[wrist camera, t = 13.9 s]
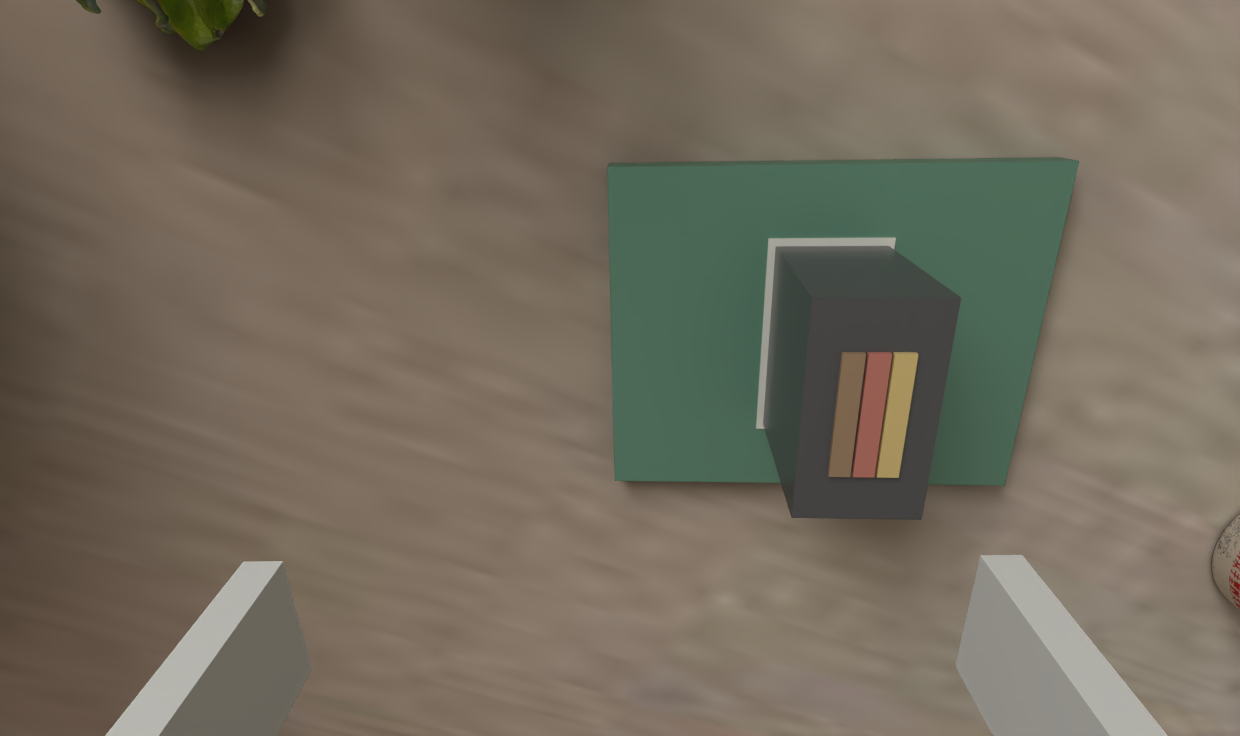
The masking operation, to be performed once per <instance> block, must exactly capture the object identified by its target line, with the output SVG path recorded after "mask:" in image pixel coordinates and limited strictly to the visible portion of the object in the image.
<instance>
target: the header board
mask: <svg viewBox="0 0 1240 736" xmlns="http://www.w3.org/2000/svg"><path fill="white" fill-rule="evenodd" d="M1078 164H1079V161H1076V160H1071V159H1066V158H1061V157H1052V158H973V159H894V160H815V161H736V162H657V163H609V165H608V167H607V174H608V216H609V258H610V300H611V342H612V384H613V426H614V468H615V481H678V482H759V483H781V481H780V478H779V475H778V472H777V468H776V465H775V462H774V459H773V455H772V452H771V449H770V445H769V442H768V439H767V436H766V432H765V429H764V426H763V418H764V404H765V389H766V375H767V361H768V347H769V333H770V319H771V304H772V290H773V276H774V262H775V248H776V246H890V247H891V248H892V249H894V250H895V251H897V252H898V253H899V254H901V255H902V256H904V257H905V258H907V259H908V260H909V261H911V262H912V263H914V264H915V265H916V266H918V267H919V268H921V269H922V270H923V271H925V272H926V273H928V274H929V275H930V276H932V277H933V278H935V279H936V280H937V281H939V282H940V283H942V284H943V285H944V286H946V287H947V288H949V289H950V290H951V291H953V292H954V293H956V294H957V295H958V296H960V297H961V302H960V308H959V314H958V319H957V325H956V330H955V336H954V341H953V347H952V352H951V358H950V363H949V369H948V374H947V380H946V386H945V391H944V397H943V402H942V408H941V413H940V419H939V424H938V430H937V435H936V441H935V447H934V452H933V458H932V463H931V469H930V474H929V480H928V485H1002V486H1005V481H1006V477H1007V473H1008V468H1009V464H1010V460H1011V455H1012V451H1013V447H1014V442H1015V438H1016V434H1017V429H1018V425H1019V420H1020V416H1021V412H1022V407H1023V403H1024V399H1025V394H1026V390H1027V386H1028V381H1029V377H1030V373H1031V368H1032V364H1033V360H1034V355H1035V351H1036V347H1037V342H1038V338H1039V333H1040V329H1041V325H1042V320H1043V316H1044V312H1045V307H1046V303H1047V299H1048V294H1049V290H1050V286H1051V281H1052V277H1053V273H1054V268H1055V264H1056V260H1057V255H1058V251H1059V246H1060V242H1061V238H1062V233H1063V229H1064V225H1065V220H1066V216H1067V212H1068V207H1069V203H1070V199H1071V194H1072V190H1073V186H1074V181H1075V177H1076V173H1077V168H1078Z"/></svg>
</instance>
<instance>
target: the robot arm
mask: <svg viewBox="0 0 1240 736" xmlns="http://www.w3.org/2000/svg"><path fill="white" fill-rule="evenodd" d="M955 667H956V668H957V670H958V672H959V674H960V676H961V678H962V679H963V681H964V683H965V685H966V687H967V689H968V691H969V692H970V694H971V696H972V698H973V700H974V702H975V703H976V705H977V707H978V709H979V711H980V713H981V714H982V716H983V718H984V720H985V722H986V724H987V726H988V727H989V729H990V731H991V733H992V735H993V736H1167V734H1166V733H1165V732H1164V731H1163V729H1162V728H1161V727H1160V726H1159V724H1158V723H1157V722H1156V721H1155V719H1154V718H1153V717H1152V716H1151V714H1150V713H1149V712H1148V711H1147V710H1146V708H1145V707H1144V706H1143V705H1142V703H1141V702H1140V701H1139V700H1138V698H1137V697H1136V696H1135V695H1134V693H1133V692H1132V691H1131V690H1130V688H1129V687H1128V686H1127V685H1126V683H1125V682H1124V681H1123V680H1122V678H1121V677H1120V676H1119V675H1118V673H1117V672H1116V671H1115V670H1114V669H1113V667H1112V666H1111V665H1110V664H1109V662H1108V661H1107V660H1106V659H1105V657H1104V656H1103V655H1102V654H1101V652H1100V651H1099V650H1098V649H1097V647H1096V646H1095V645H1094V644H1093V642H1092V641H1091V640H1090V639H1089V637H1088V636H1087V635H1086V634H1085V632H1084V631H1083V630H1082V629H1081V628H1080V626H1079V625H1078V624H1077V623H1076V621H1075V620H1074V619H1073V618H1072V616H1071V615H1070V614H1069V613H1068V611H1067V610H1066V609H1065V608H1064V606H1063V605H1062V604H1061V603H1060V601H1059V600H1058V599H1057V598H1056V596H1055V595H1054V594H1053V593H1052V592H1051V590H1050V589H1049V588H1048V587H1047V585H1046V584H1045V583H1044V582H1043V580H1042V579H1041V578H1040V577H1039V575H1038V574H1037V573H1036V572H1035V570H1034V569H1033V568H1032V567H1031V565H1030V564H1029V563H1028V562H1027V560H1026V559H1025V558H1024V557H1023V555H980V559H979V564H978V568H977V572H976V577H975V581H974V586H973V590H972V594H971V599H970V603H969V608H968V612H967V617H966V621H965V625H964V630H963V634H962V639H961V643H960V647H959V652H958V656H957V661H956V665H955ZM311 670H312V666H311V663H310V659H309V655H308V652H307V648H306V644H305V641H304V637H303V633H302V630H301V626H300V622H299V618H298V615H297V611H296V607H295V604H294V600H293V596H292V593H291V589H290V585H289V582H288V578H287V574H286V570H285V567H284V563H283V561H263V562H243V563H242V564H241V565H240V567H239V568H238V569H237V570H236V572H235V573H234V574H233V575H232V577H231V578H230V579H229V580H228V582H227V583H226V584H225V586H224V587H223V588H222V589H221V591H220V592H219V593H218V594H217V596H216V597H215V598H214V599H213V601H212V602H211V603H210V604H209V606H208V607H207V608H206V609H205V611H204V612H203V613H202V614H201V616H200V617H199V618H198V620H197V621H196V622H195V623H194V625H193V626H192V627H191V628H190V630H189V631H188V632H187V633H186V635H185V636H184V637H183V638H182V640H181V641H180V642H179V643H178V645H177V646H176V647H175V649H174V650H173V651H172V652H171V654H170V655H169V656H168V657H167V659H166V660H165V661H164V662H163V664H162V665H161V666H160V667H159V669H158V670H157V671H156V672H155V674H154V675H153V676H152V677H151V679H150V680H149V681H148V683H147V684H146V685H145V686H144V688H143V689H142V690H141V691H140V693H139V694H138V695H137V696H136V698H135V699H134V700H133V701H132V703H131V704H130V705H129V706H128V708H127V709H126V710H125V711H124V713H123V714H122V715H121V717H120V718H119V719H118V720H117V722H116V723H115V724H114V725H113V727H112V728H111V729H110V730H109V732H108V733H107V734H106V735H105V736H277V734H278V732H279V730H280V728H281V726H282V724H283V723H284V721H285V719H286V717H287V715H288V713H289V711H290V709H291V708H292V706H293V704H294V702H295V700H296V698H297V696H298V695H299V693H300V691H301V689H302V687H303V685H304V683H305V681H306V680H307V678H308V676H309V674H310V672H311Z"/></svg>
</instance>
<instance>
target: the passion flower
mask: <svg viewBox="0 0 1240 736" xmlns="http://www.w3.org/2000/svg"><path fill="white" fill-rule="evenodd" d="M76 1H77V2H78V3H80V4H81V5H82V7H83V8H84V9H85V10H87V11H89V12H92V13H96V14H100V13H101V10H100V8H99V7H98V6H97V4H96V0H76ZM136 1H137V2H138V3H139V4H140V5H144V6H146V7H147V8H149V9H150V10H151V11H152V12H153V13H154V14H155V15H156V16H157V19H156V20H155V25H156V26H157V27H158V28H159V29H161V30H162V31H163V32H165V33H167V34H173V33H177V34H178V35H179V36H180V37H181V38H183V40H184V41H186V42H187V43H189V44H190V45H191V46H192V47H193V48H195V49H197V50H199V51H203V50H205V49H206V48H207V47H208V46H209V45H210V44H211V43H213V42H214V41H216V40H220V39H221V36H222V35H223V34H224V32H225V30H226V29H227V28H228V26H229V25H231V24H232V23H233V22H234V20H235V18H236V17H237V16H238V15H239V13H240V11H241V9H242V7H243V5H244V1H245V0H136ZM248 2H249V3H250V4H251V6H252V10H253V11H254V12H255V13H256V14H257V15H258V16H259V17H262V16H264V15H265V14H266V11H267V4H266V3H265V2H264V1H263V0H248Z"/></svg>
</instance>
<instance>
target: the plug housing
mask: <svg viewBox="0 0 1240 736" xmlns="http://www.w3.org/2000/svg"><path fill="white" fill-rule="evenodd" d="M960 302H961V297H960V296H958V295H957V294H956V293H954V292H953V291H951V290H950V289H949V288H947V287H946V286H944V285H943V284H942V283H940V282H939V281H937V280H936V279H935V278H933V277H932V276H930V275H929V274H928V273H926V272H925V271H923V270H922V269H921V268H919V267H918V266H916V265H915V264H914V263H912V262H911V261H909V260H908V259H907V258H905V257H904V256H902V255H901V254H899V253H898V252H897V251H895V250H894V249H892V248H891V247H890V246H776V248H775V262H774V276H773V290H772V304H771V319H770V333H769V347H768V361H767V375H766V389H765V404H764V418H763V426H764V429H765V432H766V436H767V439H768V442H769V445H770V449H771V452H772V455H773V459H774V462H775V465H776V468H777V472H778V475H779V478H780V481H781V485H782V488H783V491H784V494H785V498H786V501H787V504H788V508H789V511H790V514H791V517H792V518H848V519H912V520H921V519H922V513H923V507H924V502H925V496H926V491H927V485H928V480H929V474H930V469H931V463H932V458H933V452H934V447H935V441H936V435H937V430H938V424H939V419H940V413H941V408H942V402H943V397H944V391H945V386H946V380H947V374H948V369H949V363H950V358H951V352H952V347H953V341H954V336H955V330H956V325H957V319H958V314H959V308H960Z"/></svg>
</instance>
